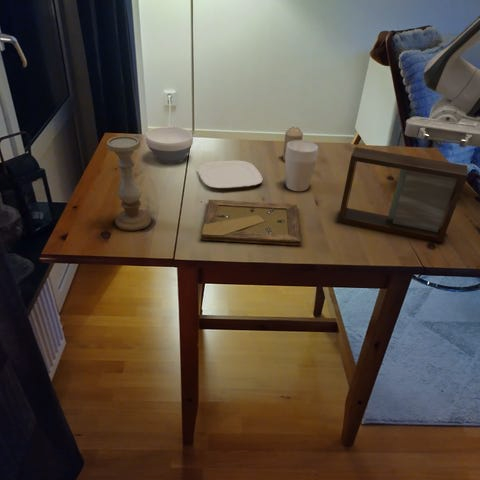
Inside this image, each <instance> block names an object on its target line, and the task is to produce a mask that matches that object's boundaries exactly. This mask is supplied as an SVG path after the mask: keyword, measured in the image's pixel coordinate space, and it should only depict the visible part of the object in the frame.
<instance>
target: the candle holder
mask: <svg viewBox="0 0 480 480" xmlns="http://www.w3.org/2000/svg"><path fill="white" fill-rule="evenodd" d="M141 145H142V144H141V141H140V139H139V138H137V137H135V136H131V135H119V136H114V137H110V138H109V139H107V140H106V142H105V147H106V149H108V150H109V151H111V152H114V153H115V155H116V156H118V159H119V160H118V162H117V167H119V168H120V183H119V185H118V189H117V194H118V198H119V199H120V201H121V203H120V206H121V208H123V210H122V211H121V212H120V213H119V214H118V215H116V217H115V219H114V223H115V225H116V227H117V228H119V229H120V230H123V231H130V232H133V231H140V230H143V229H146V228H147V227H148V226H150V225H151V223H152V217H151V216H150V214H149V213H147V212H145V211H144V210H143V209H140V207H141V206H142V202H141V201H140V199H141V196H142V190H141V188H140V186H139V184H138V182H137V181H136V179H135V175H134V166H135V162H134V161H133V160H132V156H133V154H134V152H135V151H136V150H138V149H140V148H141Z"/></svg>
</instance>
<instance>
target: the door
mask: <svg viewBox="0 0 480 480" xmlns="http://www.w3.org/2000/svg"><path fill="white" fill-rule="evenodd" d="M407 171H408V170H403V169H400V172H399V175H398V178H397V182H396V186H395V189H394V193H393V197H392V200H391V204H390V206H389V207H390V208H389V211H388V215H387V216H388V218H389V219H394V216H395V212H396V209H397V206H398V202H399V199H400V195H401V192H402V189H403V185H404V182H405V178H406V175H407Z"/></svg>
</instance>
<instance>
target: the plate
mask: <svg viewBox="0 0 480 480" xmlns="http://www.w3.org/2000/svg"><path fill="white" fill-rule="evenodd" d="M196 169H197V173H198V176H199V177H200V180H201V181H202V183H203V184H204V185H205V186H207V187H209V188H211V189H216V190H217V189H218V190H226V189H228V190H229V189H239V188H240V189H241V188H249V187H254V186H255V187H256V186H258V185H261V184H262V182H263V180H264V178H263V176H262V174H261V173H260V171H259V170H258V168H257V167H256V166H255V165H254V164H253V163H251V162H249V161H246V160H221V161H219V160H218V161H211V162H205V163H201V164H199V166H197V168H196Z"/></svg>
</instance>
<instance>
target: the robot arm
mask: <svg viewBox="0 0 480 480" xmlns="http://www.w3.org/2000/svg"><path fill="white" fill-rule="evenodd" d="M478 41H480V15H479V16H477V17H476V19H474V20H473V21H472V22H471V23H470V24H469V25H468V26H467V27H466V28H464V29H463V30H462V32H460V33H459V34H458V35H457V36H456V37H455V38H454V39H453V40H452V41H451V42H450V43H449V44H447V45H446V46H445V47H443V49H441V50H440V51H439V52H438V53H436V54H435V55H434V56H433V57H432V58H431V59H430V60H429V62H428V63H427V64H426V65H425V68H424V70H423V73H422V76H423V77H422V78H423V83H424V86H425V88H428V89H430V90H431V91H433V92H436V93H438V94H439V95H441V96H442V97H440V98H438V99H437V100H436V101H435V103H434V104H433V105H432V106H431V109H430V111H429V115H428V117H426V116H416V115H415V116H411V117H409V118H408V119H406V121H405V130H404V135H405V136H406V137H410V138H417V139H421V140H420V141H421V142H428V141H429V140H431V141H434V142H436V143H440V144H441V143H450V144H457V145H458V146H459V147H460V148H466V147H467V146H470V147H475V148H479V147H480V116H478V115H475V114H476V113H477V112H478V111H479V110H480V68H478V67H476V66H475V65H473V64H471V62H469V61H467V60H466V59H464V58H463V57H462V56H463V55H464V54H465V53H466V52H468V50H470V48H472V47H473V46H474V45H475V44H477V42H478Z"/></svg>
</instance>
